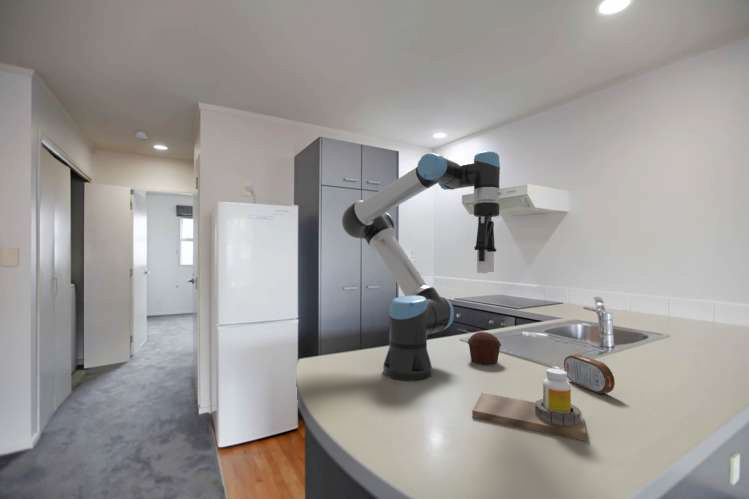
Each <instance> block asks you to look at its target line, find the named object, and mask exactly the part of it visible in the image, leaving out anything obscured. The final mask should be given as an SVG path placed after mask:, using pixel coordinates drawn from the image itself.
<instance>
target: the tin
mask: <svg viewBox="0 0 749 499" xmlns="http://www.w3.org/2000/svg"><path fill="white" fill-rule="evenodd" d="M563 369H564V370H563V371H565V372H567V379H568V380H569V381H570V382H571V383H572V384H575V385H576V386H579V387H581V388H583V389H585V390H589V391H590V392H593V393H596V394H599V395H600V394H601V395H602V394H609V393H611V392H612V391H613V390H614V388H615V385H616V384H615V377H614V374H613V372H612V370H611V369H610V367H609V366H608V365H606V364H605V363H604V362H602V361H600V360H596V359H593V358H590V357H588V356H585V355H582V354H579V353H576V354H571V355H568V356H566V357H565V358H564V360H563Z"/></svg>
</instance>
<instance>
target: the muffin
mask: <svg viewBox="0 0 749 499" xmlns="http://www.w3.org/2000/svg"><path fill="white" fill-rule="evenodd" d="M467 344H468V347H469V354H470V360H471V361H470V362H472V363H473V362H474V364H476V365H480V364H481V366H494V365H497V364H498V361H499V355H500V349H501V347H502V343H501V341H499V339H498V337H496V336H495V335H494V334H492V333H489V332H487V331H480V332H479V331H478V332H475V333H474V334H471V336H470V337H469V339H468V340H467Z"/></svg>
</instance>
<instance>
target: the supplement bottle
mask: <svg viewBox="0 0 749 499" xmlns="http://www.w3.org/2000/svg"><path fill="white" fill-rule="evenodd" d="M546 377H547V378H545V379H544V380H543V382H542V399H543V407H544V408H545V409H548V410H550V411H553V412H558V413H571V404H572V403H571V402H572V401H571V396H572V395H571V394H572V390H571V384H570V383H569V382H568V380H567V379H568V377H567V372H565V370H562V369H558V368H547V369H546Z"/></svg>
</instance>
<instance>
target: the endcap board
mask: <svg viewBox="0 0 749 499" xmlns="http://www.w3.org/2000/svg"><path fill="white" fill-rule="evenodd" d="M471 415H472V416H471V418H474V419H479V420H484V421H490V422H494V423H498V424H504V425H509V426H513V427H518V428H522V429H527V430H531V431H535V432H541V433H545V434H550V435H555V436H561V437H563V438H564V437H565V438H569V439H572V440H573V439H575V440H580V441H583V440H584V442H587V431H586V426H585V422H584V416H583V412H582V410H580V408H578V407H577V406H576V405H574V404H572V403H571V413H558V412H553V411H550V410H548V409H545V408H544V407H543V398H542V399H538V400H536V401H529V400H523V399H520V398H512V397H507V396H502V395H496V394H495V395H494V394H491V393H484V392H481V393H480V395H479V397H478V399H477V401H476V402H475V405H474V406H473V409H472V414H471Z"/></svg>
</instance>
